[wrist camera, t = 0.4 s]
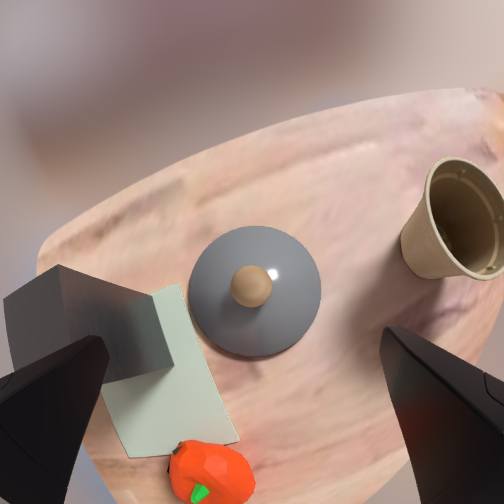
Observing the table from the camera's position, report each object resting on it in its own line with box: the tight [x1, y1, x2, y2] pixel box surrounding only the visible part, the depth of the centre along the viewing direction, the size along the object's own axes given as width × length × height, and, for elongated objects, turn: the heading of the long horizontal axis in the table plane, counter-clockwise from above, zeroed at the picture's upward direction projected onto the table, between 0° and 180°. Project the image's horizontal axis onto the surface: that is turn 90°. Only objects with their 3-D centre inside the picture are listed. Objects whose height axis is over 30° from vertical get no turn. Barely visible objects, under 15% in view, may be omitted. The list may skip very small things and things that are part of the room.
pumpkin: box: [167, 439, 256, 504], centre depth 15 cm, size 7×8×6 cm
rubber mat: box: [101, 283, 240, 458], centre depth 21 cm, size 15×12×1 cm
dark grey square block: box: [3, 264, 174, 384], centre depth 16 cm, size 6×6×12 cm
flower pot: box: [400, 157, 504, 281], centre depth 18 cm, size 9×9×9 cm
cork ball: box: [230, 265, 273, 307], centre depth 20 cm, size 3×3×3 cm
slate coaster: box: [189, 226, 321, 357], centre depth 22 cm, size 11×11×1 cm
